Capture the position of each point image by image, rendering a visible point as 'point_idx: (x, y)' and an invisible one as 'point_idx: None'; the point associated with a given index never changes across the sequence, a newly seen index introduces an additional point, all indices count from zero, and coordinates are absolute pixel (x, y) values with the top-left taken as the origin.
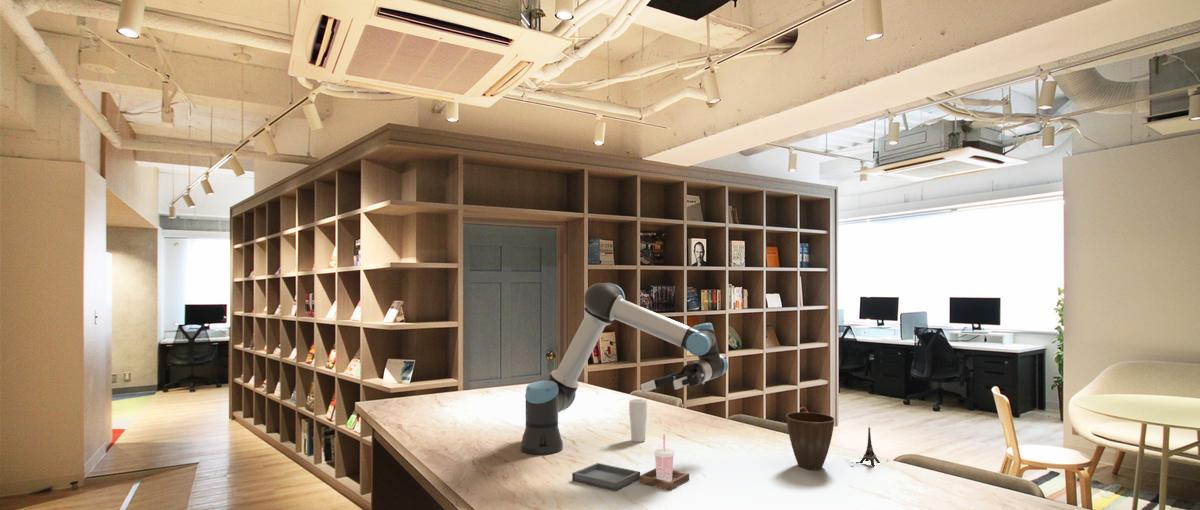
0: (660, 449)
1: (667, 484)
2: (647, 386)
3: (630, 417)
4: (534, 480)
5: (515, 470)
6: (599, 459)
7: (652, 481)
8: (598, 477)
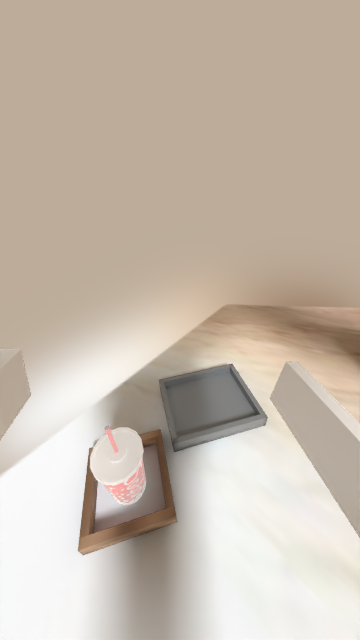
0: (136, 460)
1: None
2: (306, 415)
3: None
4: (254, 345)
5: (304, 346)
6: None
7: None
8: (214, 393)
